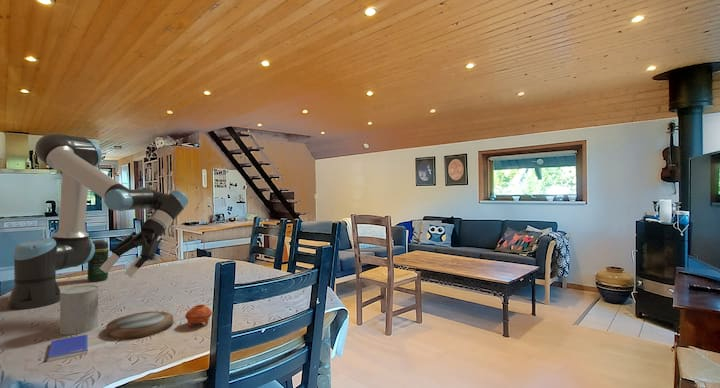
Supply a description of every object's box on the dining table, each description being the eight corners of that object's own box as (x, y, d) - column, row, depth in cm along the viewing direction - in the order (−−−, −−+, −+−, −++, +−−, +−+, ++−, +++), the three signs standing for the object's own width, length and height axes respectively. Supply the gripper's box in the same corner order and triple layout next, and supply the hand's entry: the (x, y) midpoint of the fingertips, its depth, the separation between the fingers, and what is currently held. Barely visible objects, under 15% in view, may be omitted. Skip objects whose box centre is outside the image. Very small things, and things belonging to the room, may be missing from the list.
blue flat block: (87, 349, 96) (87, 334, 106) (47, 357, 91) (51, 340, 101) (87, 355, 96) (87, 339, 106) (47, 363, 92) (51, 346, 101)
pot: (193, 330, 112) (190, 308, 112) (182, 330, 117) (180, 308, 117) (218, 322, 118) (215, 301, 118) (206, 322, 123) (204, 302, 123)
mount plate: (92, 332, 110) (93, 324, 110) (149, 314, 126) (149, 307, 126) (131, 343, 102) (131, 335, 102) (185, 322, 119) (185, 315, 119)
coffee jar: (108, 280, 170) (108, 241, 170) (87, 283, 165) (87, 242, 165) (108, 276, 178) (108, 238, 178) (87, 278, 173) (88, 239, 173)
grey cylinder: (93, 320, 120) (93, 283, 119) (102, 327, 114) (102, 288, 113) (56, 329, 112) (56, 289, 112) (64, 337, 106) (64, 295, 106)
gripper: (186, 233, 133) (147, 283, 120) (141, 229, 143) (101, 274, 130) (173, 219, 128) (131, 270, 115) (128, 216, 139) (84, 262, 125)
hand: (115, 273), depth 122 cm, fingers open, 13 cm apart
